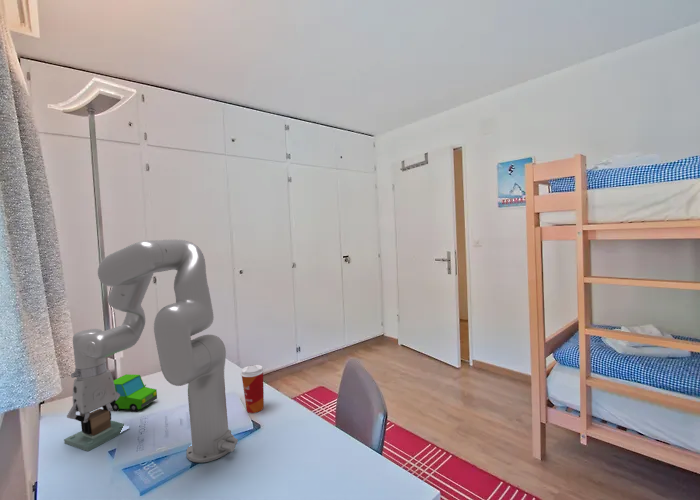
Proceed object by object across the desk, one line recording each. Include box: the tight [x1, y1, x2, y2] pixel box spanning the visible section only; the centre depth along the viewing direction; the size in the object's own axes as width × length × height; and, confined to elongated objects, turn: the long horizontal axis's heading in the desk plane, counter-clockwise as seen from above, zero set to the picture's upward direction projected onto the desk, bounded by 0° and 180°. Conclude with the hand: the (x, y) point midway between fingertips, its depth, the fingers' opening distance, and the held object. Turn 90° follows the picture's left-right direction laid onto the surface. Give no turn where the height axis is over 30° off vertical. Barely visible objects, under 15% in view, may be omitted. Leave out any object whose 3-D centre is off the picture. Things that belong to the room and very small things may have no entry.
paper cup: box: [240, 364, 265, 414], centre depth 118 cm, size 8×8×14 cm
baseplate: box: [63, 420, 125, 452], centre depth 107 cm, size 12×12×2 cm
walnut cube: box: [88, 408, 111, 435], centre depth 107 cm, size 5×5×5 cm
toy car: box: [112, 374, 158, 413], centre depth 126 cm, size 10×13×10 cm
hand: (97, 427), depth 107 cm, fingers closed on walnut cube, 4 cm apart
